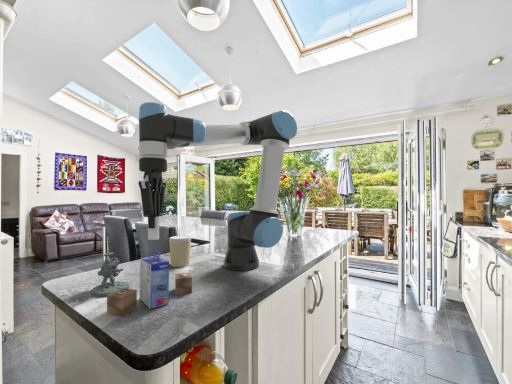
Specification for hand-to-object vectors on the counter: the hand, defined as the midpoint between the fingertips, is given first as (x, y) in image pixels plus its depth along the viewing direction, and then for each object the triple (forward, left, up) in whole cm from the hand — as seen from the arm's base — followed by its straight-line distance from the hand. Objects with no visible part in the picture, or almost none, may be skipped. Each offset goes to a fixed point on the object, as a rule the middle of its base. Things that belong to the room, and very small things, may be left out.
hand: (153, 239), depth 73 cm
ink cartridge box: (0, 0, -18) cm, 18 cm away
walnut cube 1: (+6, +6, -18) cm, 20 cm away
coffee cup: (+5, -37, -18) cm, 42 cm away
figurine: (+18, -8, -18) cm, 27 cm away
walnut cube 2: (-6, -8, -18) cm, 21 cm away
